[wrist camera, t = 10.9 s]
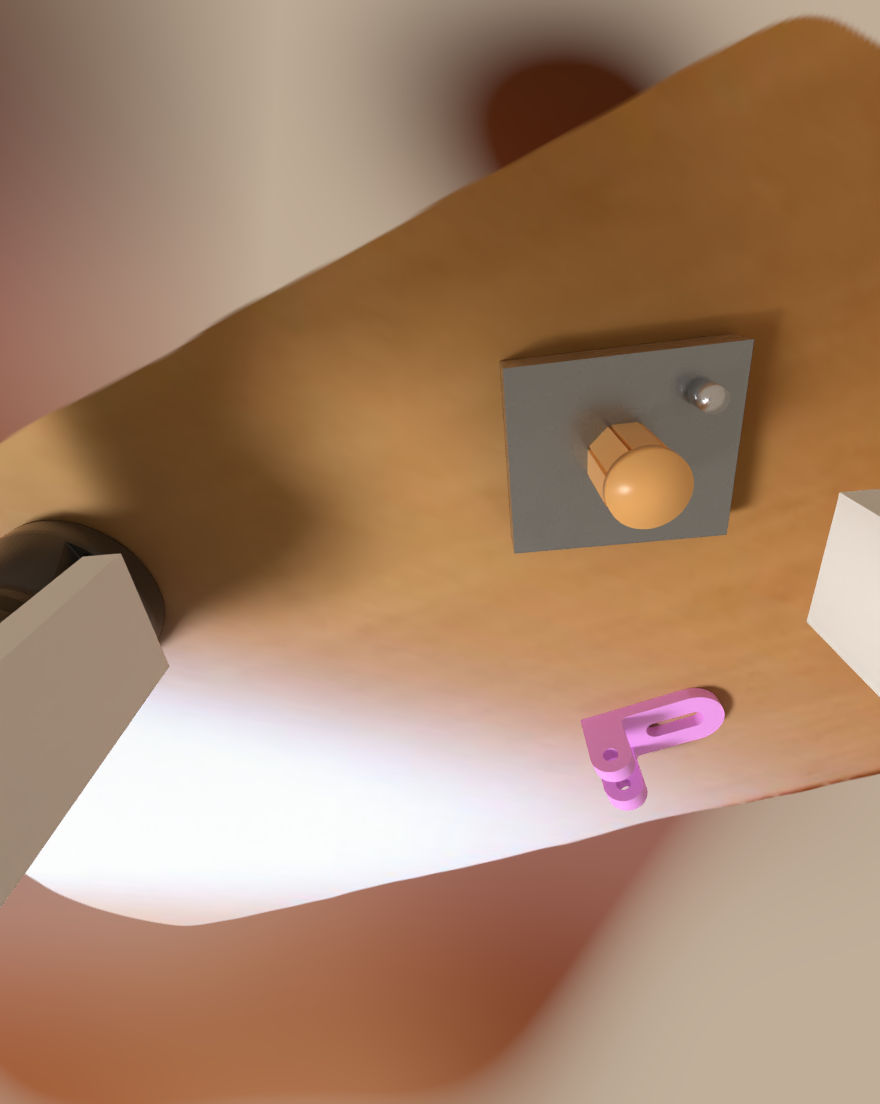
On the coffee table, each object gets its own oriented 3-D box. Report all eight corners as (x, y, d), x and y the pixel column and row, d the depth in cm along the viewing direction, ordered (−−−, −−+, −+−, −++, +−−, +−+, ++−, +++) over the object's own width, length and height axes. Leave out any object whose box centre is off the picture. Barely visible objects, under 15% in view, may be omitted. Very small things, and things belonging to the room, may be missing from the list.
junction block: (511, 536, 46) (519, 580, 39) (499, 361, 39) (507, 380, 33) (710, 518, 44) (751, 560, 38) (733, 333, 38) (787, 348, 31)
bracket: (596, 755, 58) (613, 814, 51) (580, 719, 55) (595, 776, 49) (723, 719, 55) (757, 778, 49) (711, 680, 52) (745, 736, 46)
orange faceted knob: (585, 495, 40) (605, 532, 35) (586, 426, 38) (607, 454, 33) (658, 488, 40) (689, 525, 35) (663, 417, 38) (698, 445, 32)
